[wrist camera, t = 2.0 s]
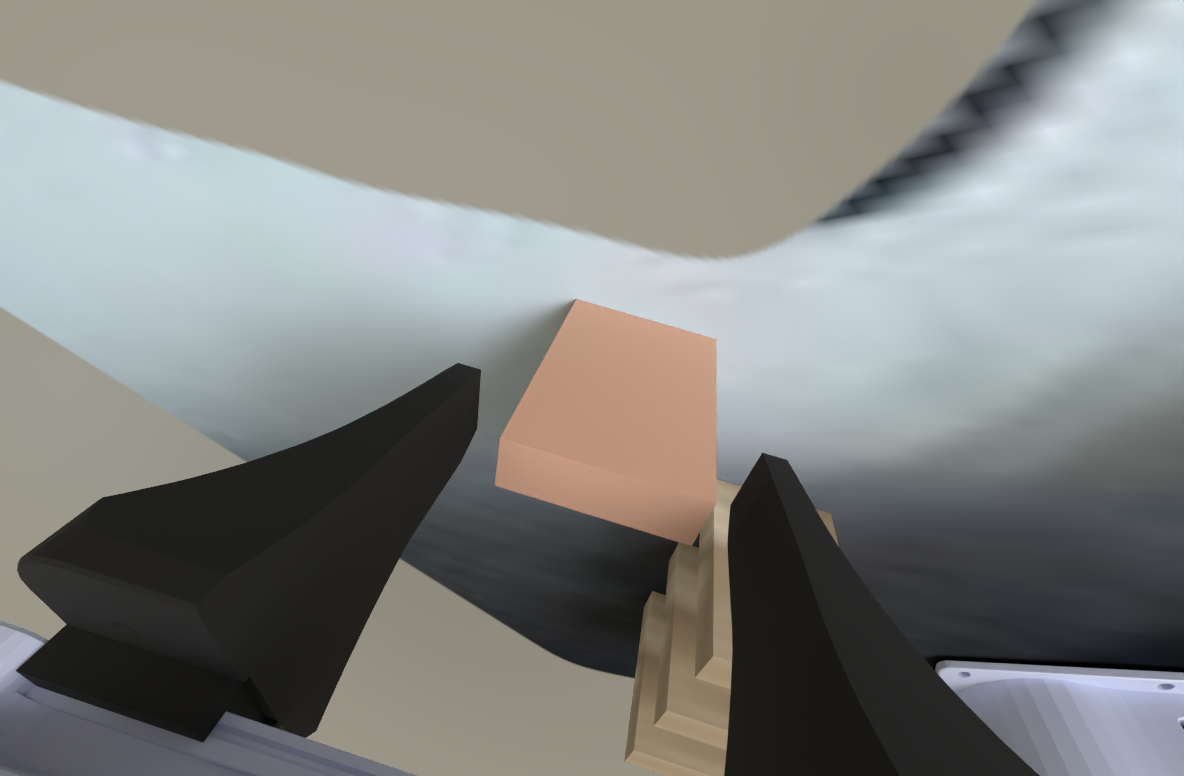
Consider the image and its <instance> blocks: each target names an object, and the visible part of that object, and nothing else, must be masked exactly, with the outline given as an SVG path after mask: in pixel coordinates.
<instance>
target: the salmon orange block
mask: <svg viewBox="0 0 1184 776" xmlns="http://www.w3.org/2000/svg"><path fill="white" fill-rule="evenodd" d="M495 486H498V487H501V488H504V489H508V490H511V491H514V492H517V493H521V494H524V495H527V496H530V497H534V498H537V499H540V500H543V501H547V502H550V503H553V504H556V505H560V506H563V507H566V508H569V509H572V510H576V511H579V512H582V513H585V514H589V515H592V516H595V517H598V518H602V519H605V520H608V521H611V522H615V523H618V524H621V525H624V526H628V527H631V528H634V529H637V530H641V531H644V532H647V533H650V534H654V535H657V536H660V537H663V538H666V539H670V540H673V541H676V542H679V543H683V544H686V545H689V546H692V545H693V543H694V541H695V540H696V538H697V536H698V534H699V533H700V531H701V529H702V527H703V526H704V524H705V522H706V521H707V519H708V517H709V515H710V514H711V512H712V510H713V509H714V507H715V505H716V339H713V338H710V337H706V336H703V335H699V334H696V333H692V332H689V331H685V330H682V329H678V328H675V327H672V326H668V325H665V324H661V323H658V322H654V321H651V320H647V319H644V318H640V317H637V316H633V315H630V314H626V313H623V312H619V311H616V310H612V309H609V308H605V307H602V306H598V305H595V304H592V303H588V302H585V301H581V300H578V299H576V300H575V302H574V304H573V306H572V308H571V309H570V311H569V313H568V315H567V317H566V319H565V320H564V322H563V324H562V326H561V328H560V329H559V331H558V333H557V335H556V337H555V339H554V340H553V342H552V344H551V346H550V348H549V350H548V351H547V353H546V355H545V357H544V359H543V360H542V362H541V364H540V366H539V368H538V370H537V371H536V373H535V375H534V377H533V379H532V380H531V382H530V384H529V386H528V388H527V390H526V391H525V393H524V395H523V397H522V399H521V400H520V402H519V404H518V406H517V408H516V410H515V411H514V413H513V415H512V417H511V419H510V421H509V422H508V424H507V426H506V428H505V430H504V431H503V433H502V435H501V437H500V442H499V451H498V460H497V469H496V478H495Z"/></svg>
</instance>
